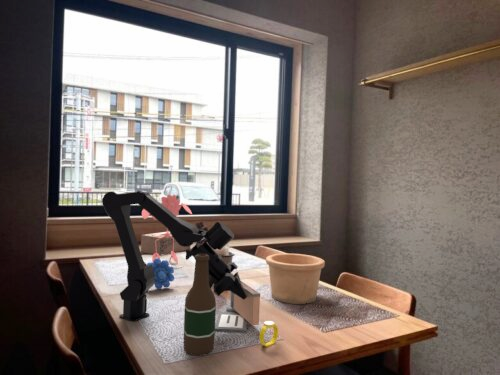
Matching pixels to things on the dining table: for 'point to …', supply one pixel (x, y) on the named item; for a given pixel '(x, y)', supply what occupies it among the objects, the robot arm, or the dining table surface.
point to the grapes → (162, 273)
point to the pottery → (294, 277)
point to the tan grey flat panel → (247, 304)
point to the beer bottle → (200, 311)
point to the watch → (263, 330)
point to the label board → (230, 321)
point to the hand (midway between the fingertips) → (245, 298)
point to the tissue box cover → (160, 244)
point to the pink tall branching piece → (173, 207)
